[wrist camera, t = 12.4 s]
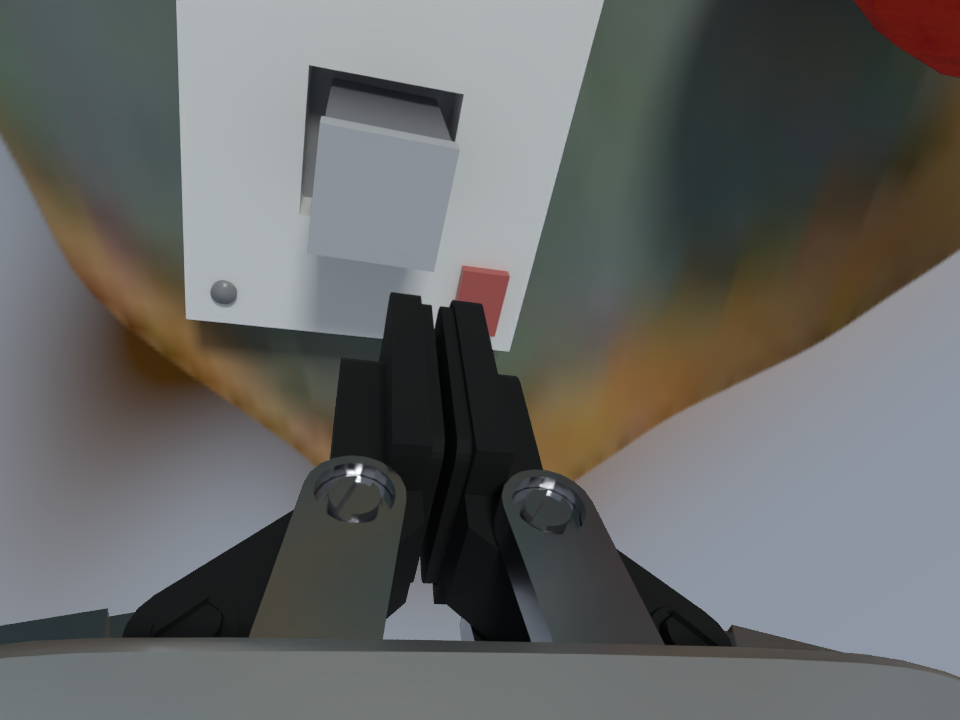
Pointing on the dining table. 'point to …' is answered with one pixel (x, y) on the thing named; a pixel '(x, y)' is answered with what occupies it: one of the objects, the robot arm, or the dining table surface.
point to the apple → (920, 29)
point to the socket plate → (294, 139)
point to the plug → (381, 177)
